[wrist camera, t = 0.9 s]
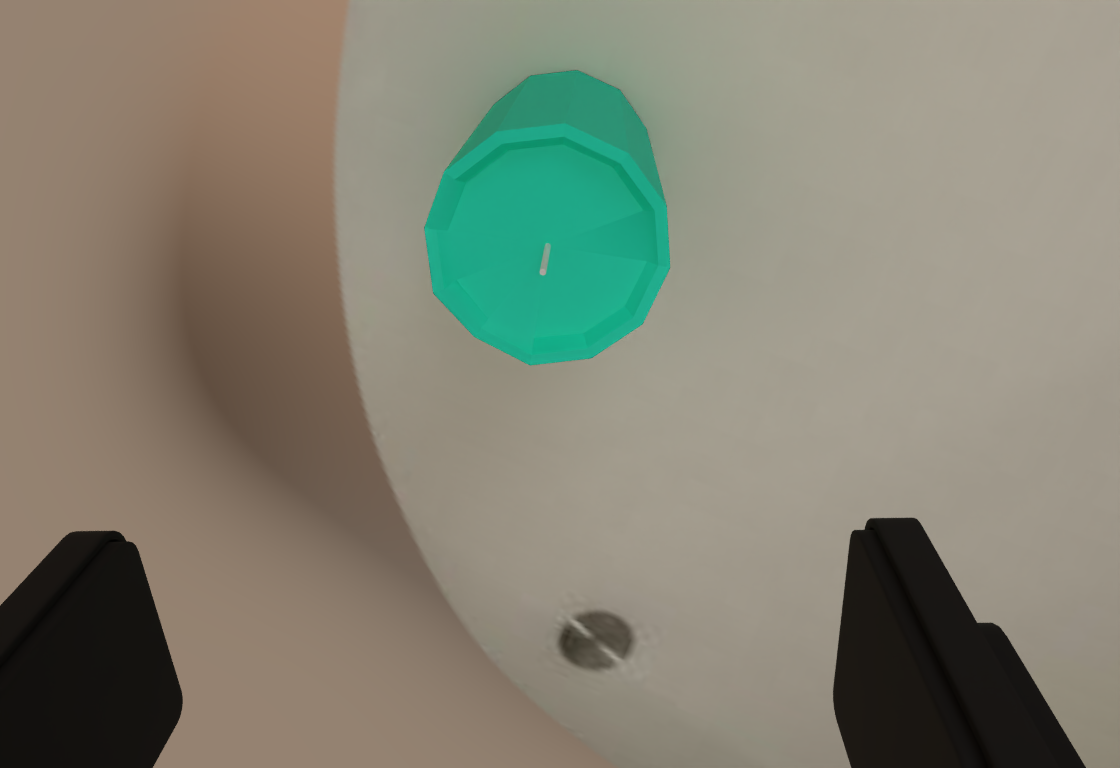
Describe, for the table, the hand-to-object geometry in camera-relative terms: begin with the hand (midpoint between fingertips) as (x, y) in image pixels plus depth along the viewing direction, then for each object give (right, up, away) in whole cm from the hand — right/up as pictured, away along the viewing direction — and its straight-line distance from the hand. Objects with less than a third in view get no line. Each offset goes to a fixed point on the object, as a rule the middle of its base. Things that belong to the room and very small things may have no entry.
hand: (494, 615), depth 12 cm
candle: (+1, +11, +19) cm, 22 cm away
